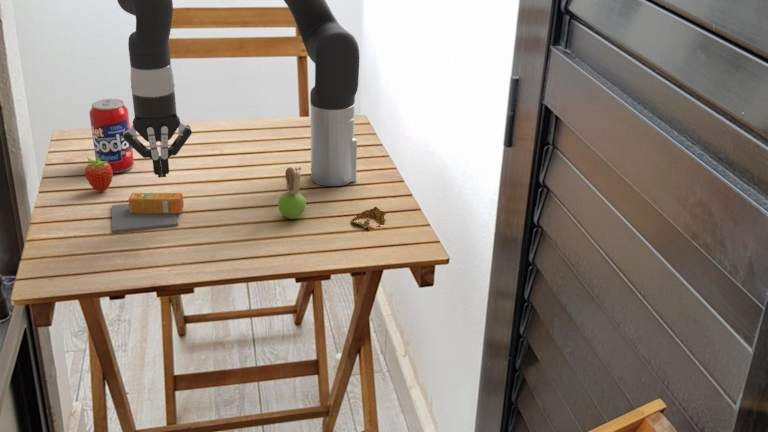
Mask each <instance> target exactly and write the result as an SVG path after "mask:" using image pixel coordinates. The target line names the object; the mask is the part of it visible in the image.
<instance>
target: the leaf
mask: <svg viewBox="0 0 768 432" xmlns="http://www.w3.org/2000/svg"><path fill="white" fill-rule="evenodd" d="M385 216H386V212H385V211H382V210H380V209H379V208H378V207H377V206H374V207H373V208H370V209H366V210H364V211H361V212H359V213H357V214H356V216H355V217H353V218H352V219H350V222H351V224H356V225H357V224H358V225H360V227H361V228H363V229H366V228H367V229H368V230H369V231H371V230H375V229H378V228H382V227H381V226H380V225H384V226H385V223H386V219H385ZM357 219H358V220H361V219H362V220H364V222H363V223H362V222H361V221H358V220H357ZM365 219H366V220H365ZM371 220H374V221H375V222H376V223H377V224H378V223H379V224H380V225H379V224H378V225H376V227H373V226H374V225H371V224H370V222H371ZM354 221H355V222H354ZM357 221H358V223H357ZM371 226H372V227H371ZM377 227H378V228H377Z"/></svg>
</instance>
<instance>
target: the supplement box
mask: <svg viewBox="0 0 768 432" xmlns="http://www.w3.org/2000/svg"><path fill="white" fill-rule="evenodd" d="M128 204H129V210H130V213H139V214H140V213H141V214H158V213H176V214H182V211H183V209H184V197H183V192H132V193H131V194H130V196H129V198H128Z"/></svg>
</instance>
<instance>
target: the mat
mask: <svg viewBox="0 0 768 432" xmlns="http://www.w3.org/2000/svg"><path fill="white" fill-rule="evenodd" d="M178 226H179V222H178V216H177V213H158V214H141V213H140V214H139V213H130V210H129V203H124V204H122V203H121V204H113V205H111V227H112V228H111V230H112V233H113V234H114V233H121V232H130V231H133V232H134V231H143V230H151V229H161V228H171V227H178Z"/></svg>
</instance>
